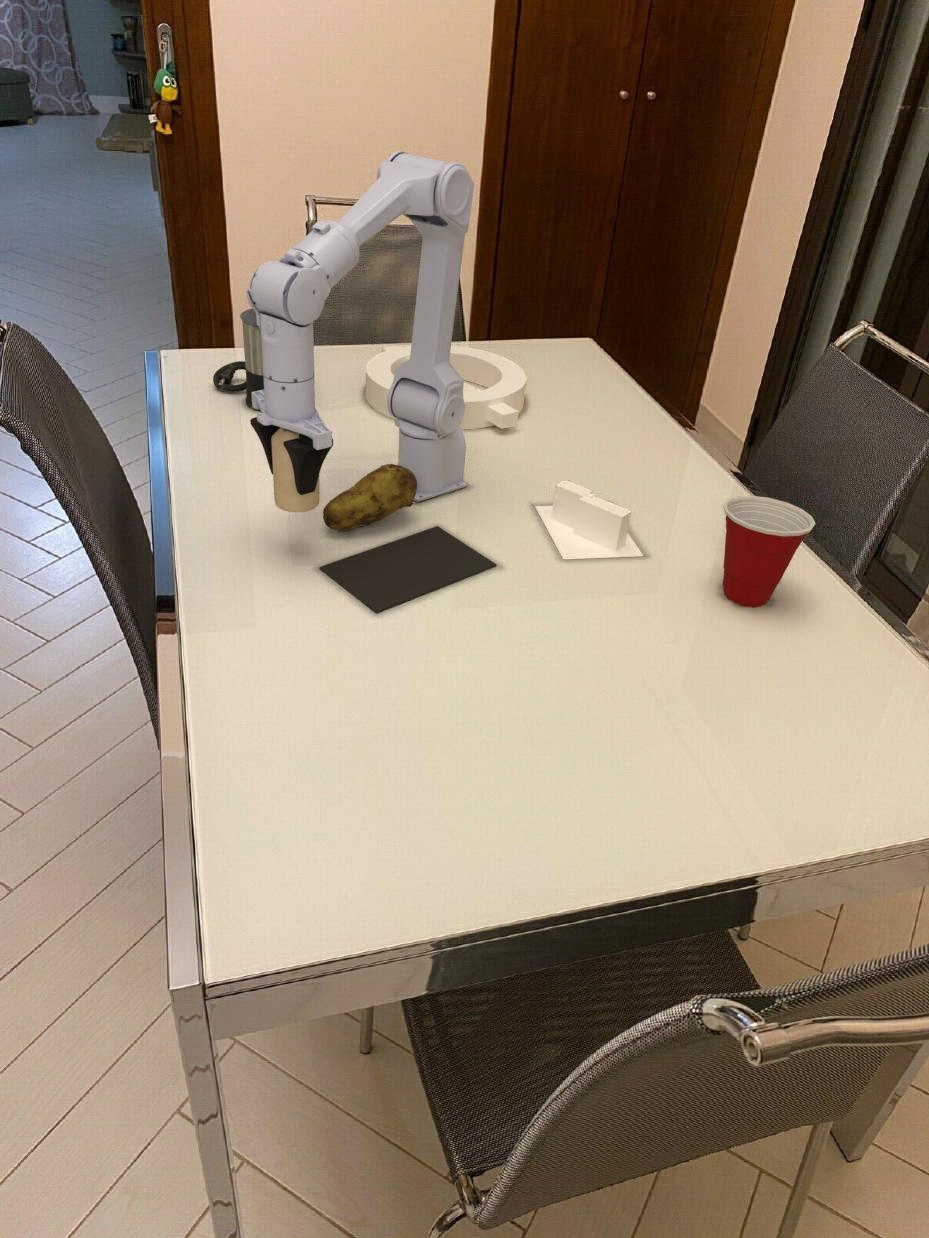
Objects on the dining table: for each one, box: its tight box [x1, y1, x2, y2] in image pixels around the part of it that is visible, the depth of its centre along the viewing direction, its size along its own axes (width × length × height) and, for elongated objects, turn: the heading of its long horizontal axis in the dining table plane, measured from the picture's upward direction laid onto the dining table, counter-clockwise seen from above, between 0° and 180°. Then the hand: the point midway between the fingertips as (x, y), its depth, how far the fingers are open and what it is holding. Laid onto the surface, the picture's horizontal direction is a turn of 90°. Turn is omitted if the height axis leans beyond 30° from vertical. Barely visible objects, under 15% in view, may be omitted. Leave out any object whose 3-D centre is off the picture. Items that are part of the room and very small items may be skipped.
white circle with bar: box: [365, 344, 527, 430], centre depth 166 cm, size 28×28×5 cm
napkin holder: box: [534, 479, 644, 560], centre depth 129 cm, size 15×11×6 cm
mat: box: [319, 525, 498, 614], centre depth 119 cm, size 19×12×1 cm, turn 130°
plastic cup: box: [722, 495, 817, 608], centre depth 116 cm, size 11×11×12 cm
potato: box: [322, 463, 417, 532], centre depth 125 cm, size 8×13×8 cm, turn 102°
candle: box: [271, 427, 321, 514], centre depth 113 cm, size 6×6×10 cm
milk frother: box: [212, 308, 264, 412], centre depth 157 cm, size 14×16×15 cm
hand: (292, 482), depth 114 cm, fingers closed on candle, 5 cm apart
